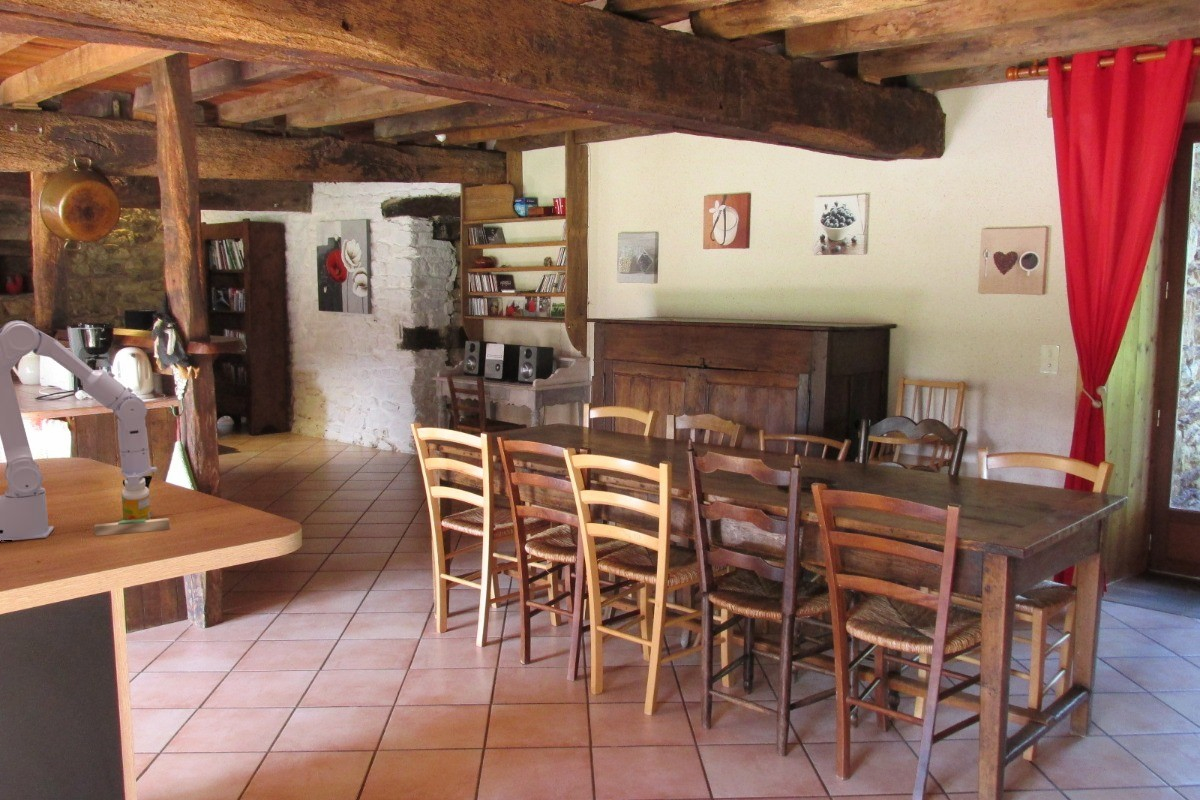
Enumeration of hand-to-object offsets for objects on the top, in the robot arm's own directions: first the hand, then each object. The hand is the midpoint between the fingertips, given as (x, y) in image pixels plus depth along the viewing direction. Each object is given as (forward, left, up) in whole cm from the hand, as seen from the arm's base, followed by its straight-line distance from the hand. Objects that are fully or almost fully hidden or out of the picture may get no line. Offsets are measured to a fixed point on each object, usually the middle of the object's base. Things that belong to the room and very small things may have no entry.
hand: (140, 510), depth 213 cm
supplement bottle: (-1, -3, -2) cm, 3 cm away
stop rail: (-1, -10, -2) cm, 10 cm away
